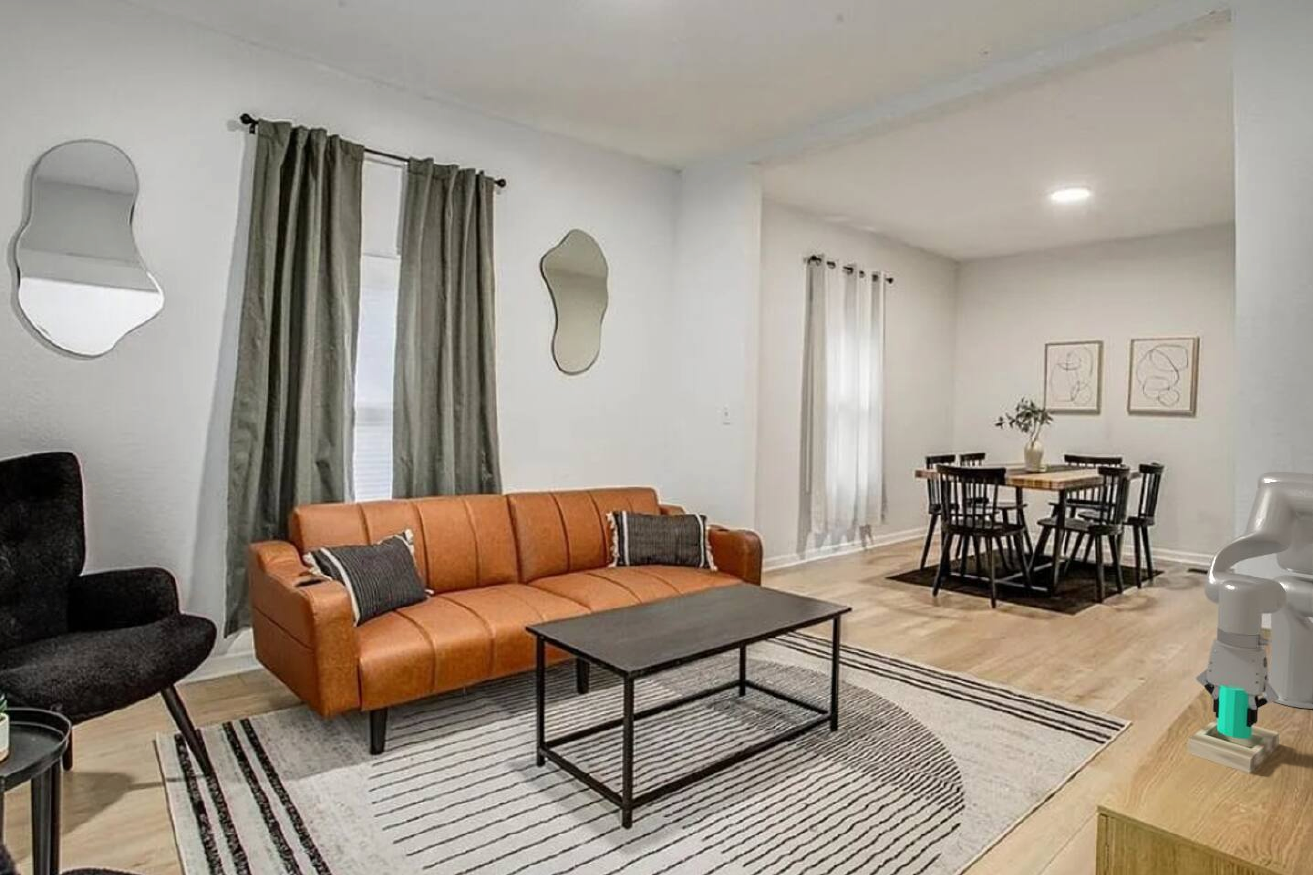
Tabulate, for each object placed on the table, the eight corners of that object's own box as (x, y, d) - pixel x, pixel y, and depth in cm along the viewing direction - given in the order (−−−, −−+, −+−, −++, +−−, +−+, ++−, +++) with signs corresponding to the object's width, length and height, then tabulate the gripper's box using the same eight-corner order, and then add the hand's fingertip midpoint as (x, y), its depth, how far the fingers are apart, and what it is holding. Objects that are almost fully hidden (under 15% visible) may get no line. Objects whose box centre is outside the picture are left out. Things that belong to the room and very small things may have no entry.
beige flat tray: (1218, 728, 176) (1219, 715, 175) (1278, 745, 167) (1279, 732, 167) (1187, 752, 164) (1187, 739, 163) (1249, 773, 155) (1250, 759, 155)
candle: (1257, 740, 161) (1260, 685, 161) (1225, 737, 163) (1228, 682, 162) (1241, 727, 167) (1244, 674, 167) (1211, 725, 168) (1213, 672, 168)
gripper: (1293, 645, 159) (1288, 729, 160) (1198, 625, 173) (1195, 703, 174) (1283, 652, 155) (1278, 739, 156) (1186, 632, 168) (1183, 711, 169)
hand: (1234, 719), depth 165 cm, fingers closed on candle, 4 cm apart
